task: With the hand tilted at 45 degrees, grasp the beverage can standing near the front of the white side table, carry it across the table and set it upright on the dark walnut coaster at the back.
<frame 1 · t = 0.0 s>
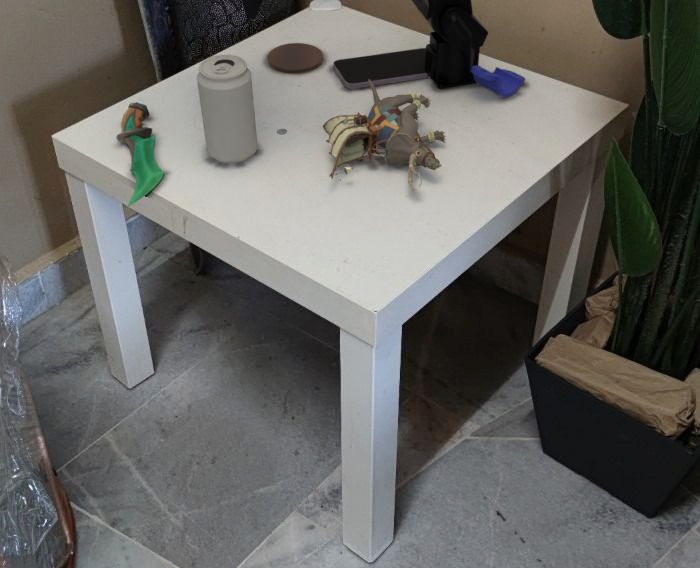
hand: (244, 2, 113), 15 cm above the table, tool pointing down, fingers open, 9 cm apart
smartphone: (389, 72, 130), on the table, touching arm
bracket: (499, 71, 123), point 3 cm above the table
figurine: (376, 157, 114), on the table
knife: (161, 150, 114), on the table
coaster: (295, 59, 132), on the table
beverage can: (232, 153, 115), on the table
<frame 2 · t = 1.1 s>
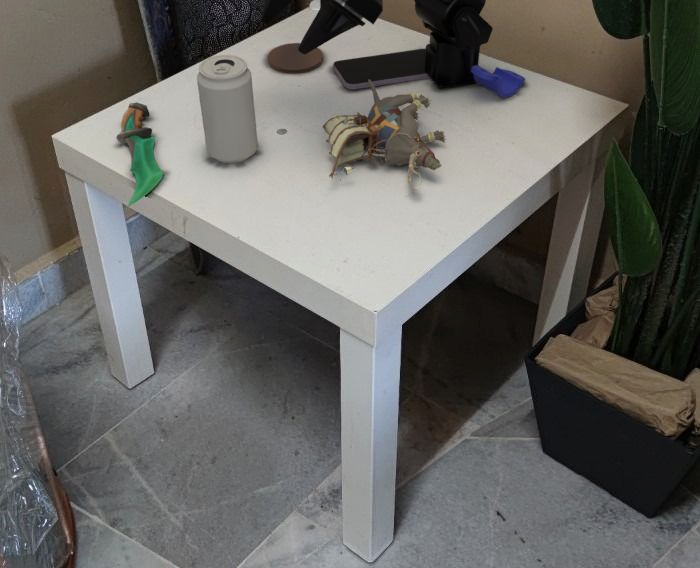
hand: (281, 37, 109), 13 cm above the table, tool tilted 45°, fingers open, 9 cm apart
nothing on the table moved.
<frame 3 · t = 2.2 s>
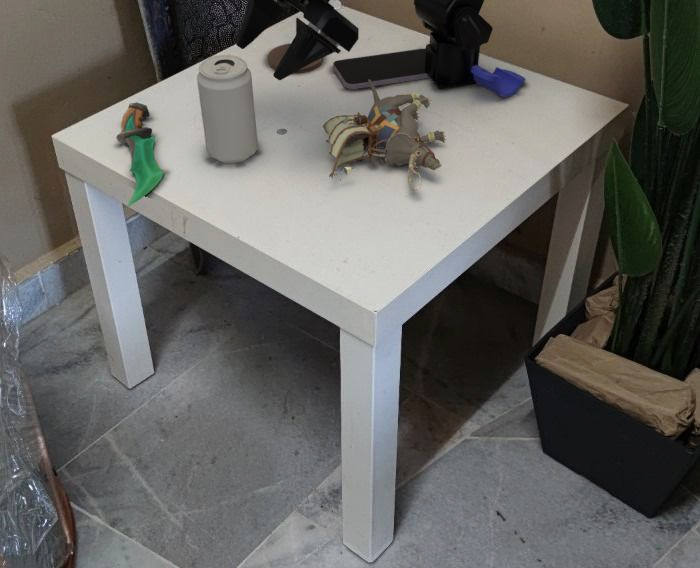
hand: (257, 62, 109), 11 cm above the table, tool tilted 45°, fingers open, 9 cm apart
nothing on the table moved.
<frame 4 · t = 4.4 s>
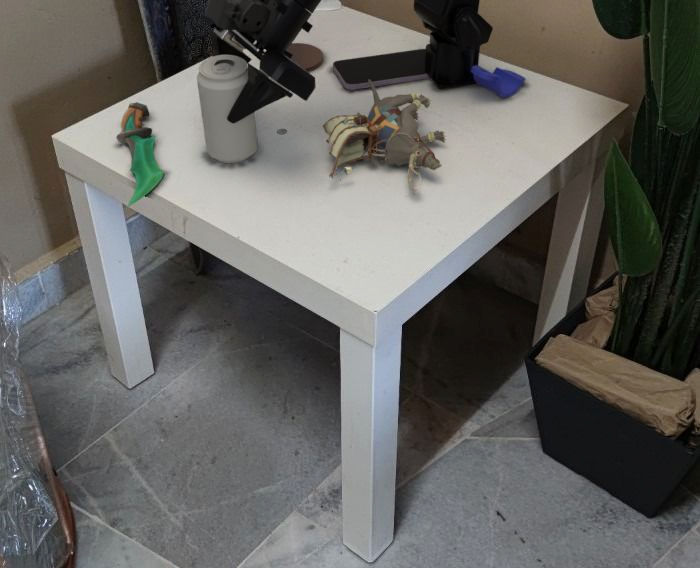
hand: (217, 109, 110), 7 cm above the table, tool tilted 45°, fingers closed on beverage can, 6 cm apart
beverage can: (232, 153, 115), on the table, touching gripper
everything else where it was.
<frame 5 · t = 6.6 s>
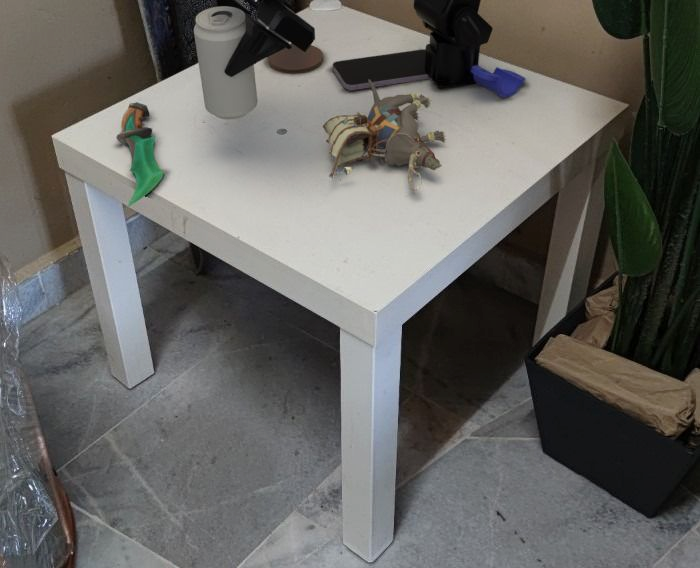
hand: (215, 62, 107), 12 cm above the table, tool tilted 45°, fingers closed on beverage can, 6 cm apart
beverage can: (232, 110, 112), point 5 cm above the table, touching gripper
everything else where it was.
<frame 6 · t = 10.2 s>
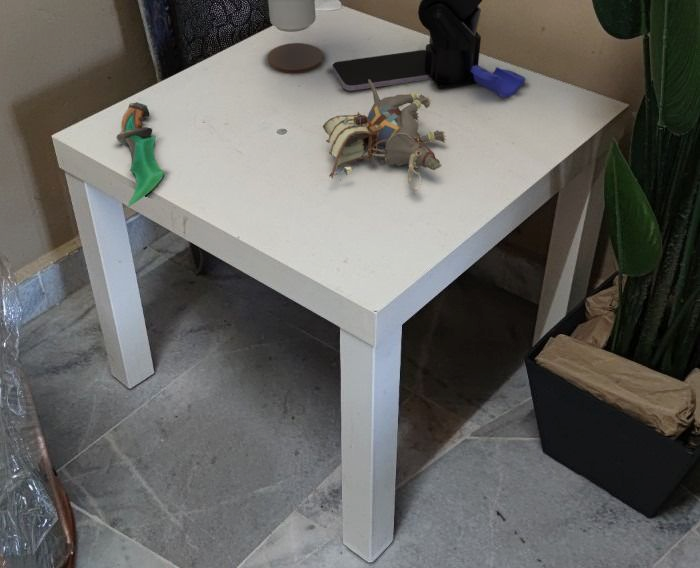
beverage can: (293, 25, 128), point 6 cm above the table, touching gripper
everything else where it was.
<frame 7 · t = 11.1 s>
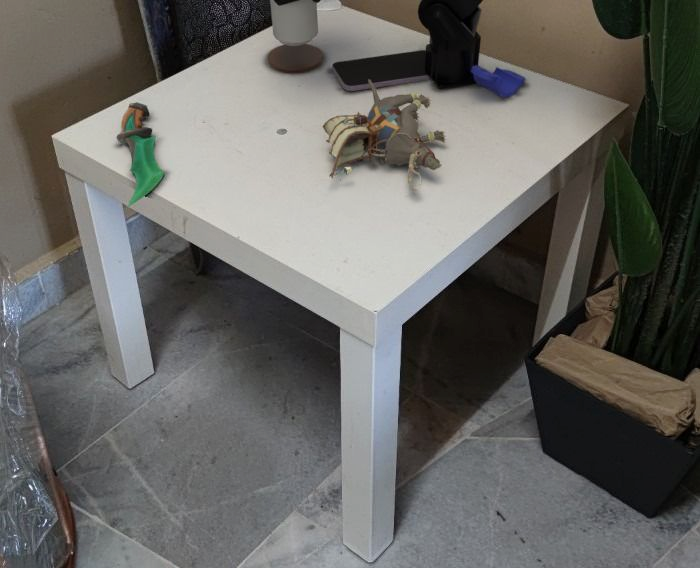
beverage can: (295, 38, 130), point 3 cm above the table, touching gripper
everything else where it was.
when the fingers open (7 cm above the table, at t = 12.5 s): beverage can stays where it is, resting on coaster.
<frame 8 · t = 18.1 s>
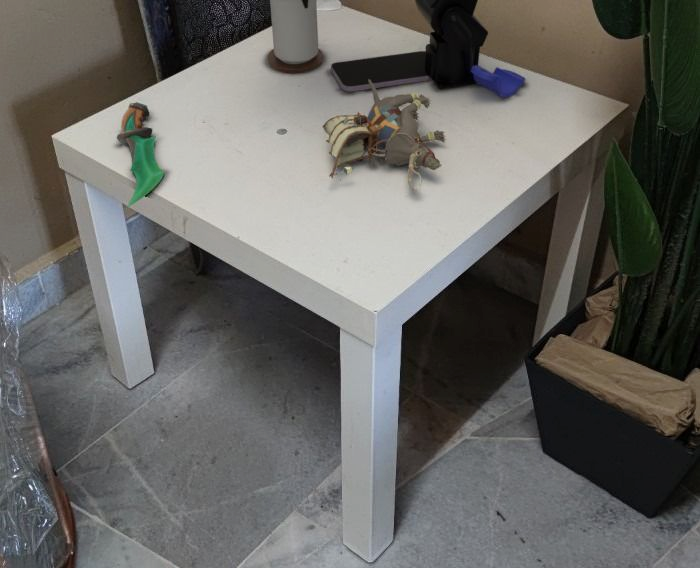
hand: (340, 2, 116), 13 cm above the table, tool pointing down, fingers open, 9 cm apart
beverage can: (296, 57, 132), resting on coaster
everything else where it was.
at the end: beverage can 0.1 cm off-centre on the coaster, point 0.4 cm above the coaster's base; beverage can tilted 0° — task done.
